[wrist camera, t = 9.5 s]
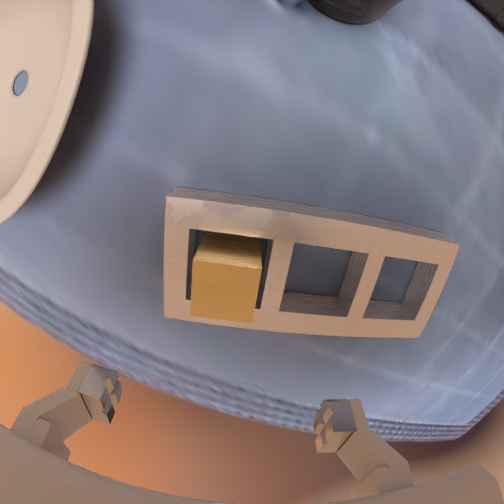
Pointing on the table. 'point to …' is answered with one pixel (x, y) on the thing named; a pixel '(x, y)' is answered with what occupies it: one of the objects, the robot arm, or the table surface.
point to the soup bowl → (37, 87)
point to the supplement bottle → (355, 9)
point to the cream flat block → (279, 256)
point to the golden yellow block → (226, 277)
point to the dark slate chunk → (492, 9)
